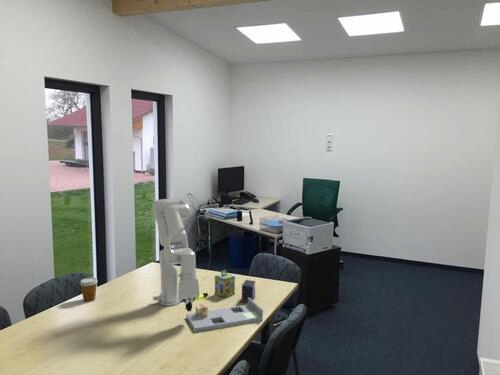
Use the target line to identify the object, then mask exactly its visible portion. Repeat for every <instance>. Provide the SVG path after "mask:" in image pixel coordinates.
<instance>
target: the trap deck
mask: <svg viewBox="0 0 500 375" xmlns="http://www.w3.org/2000/svg"><path fill="white" fill-rule="evenodd" d="M263 311H264V309H263V308H262V307H260V305H259V304H257V303H256V302H255V301H254V300H252V299H251V298H248V303H247V304H244V305H236V306H231V307H224V308H217V309H211V310H208V317H201V318H198V317H197V315H196V312H191V313H186V314H185V315H186V316H185V317H186V319H187V321H188V323H189V325H190V326H191V328H192V329H193V331H194V332H195V333H200V332H204V331H209V330H211V331H212V330H216V329H222V328H228V327H234V326H239V325H240V326H241V325H245V324H251V323H256V322H257V323H258V322H261V321H262V322H263V319H264V318H263V316H264V314H263V313H264V312H263Z"/></svg>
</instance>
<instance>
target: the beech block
mask: <svg viewBox="0 0 500 375" xmlns="http://www.w3.org/2000/svg"><path fill="white" fill-rule="evenodd" d="M208 311H209V309H208V306H207V304H206V303H200V304H195V313H196V315H197V317H198V318H201V317H208Z"/></svg>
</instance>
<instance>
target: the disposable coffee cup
mask: <svg viewBox="0 0 500 375" xmlns="http://www.w3.org/2000/svg"><path fill="white" fill-rule="evenodd" d="M98 281H99V280H98V279H97V278H96V277H86V278H82V279H81V280H80V282H79V284H80V287H81V292H82V297H83V302H85V301H86V302H85V303H90V301H91V302H94V301H95V300H96V295H97V287H98V286H97V284H98Z"/></svg>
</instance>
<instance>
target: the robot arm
mask: <svg viewBox="0 0 500 375" xmlns="http://www.w3.org/2000/svg"><path fill="white" fill-rule="evenodd" d="M152 213H153V215H154V219H155V220H156V223H157V230H158V239H159V243H160V245H161V246H162V247H163V249H161V250H160V251H159V253H158V261H159V267H160V293H159V295H156V296H152V301H155V302H158V304H159V305H160V306H167V307H169V306H175V305H178V304H180V302H183V303H184V304H185V310H186V311H187V312H192V309H193V303H194V301H195V300H197V299H199V298H200V286H199V285H200V284H199V279H198V277H197V273H196V272H197V271H196V267H197V266H196V253H195V251H194V250H193V249H191V248H190V247H189V241H188V235H187V232H186V230H185V226H184V223H183V220H186V219H190V217H191V214H192V210H191V207H190V206H189V204H188V203H187V202H186V201H185V200H184V199H183V198H163V199H157V200H155V201H154V202H153V204H152ZM172 246H176V247H172ZM174 265H180V273H179V274H178V270H177V269H176V267H174ZM178 279H179V280H178Z"/></svg>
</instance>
